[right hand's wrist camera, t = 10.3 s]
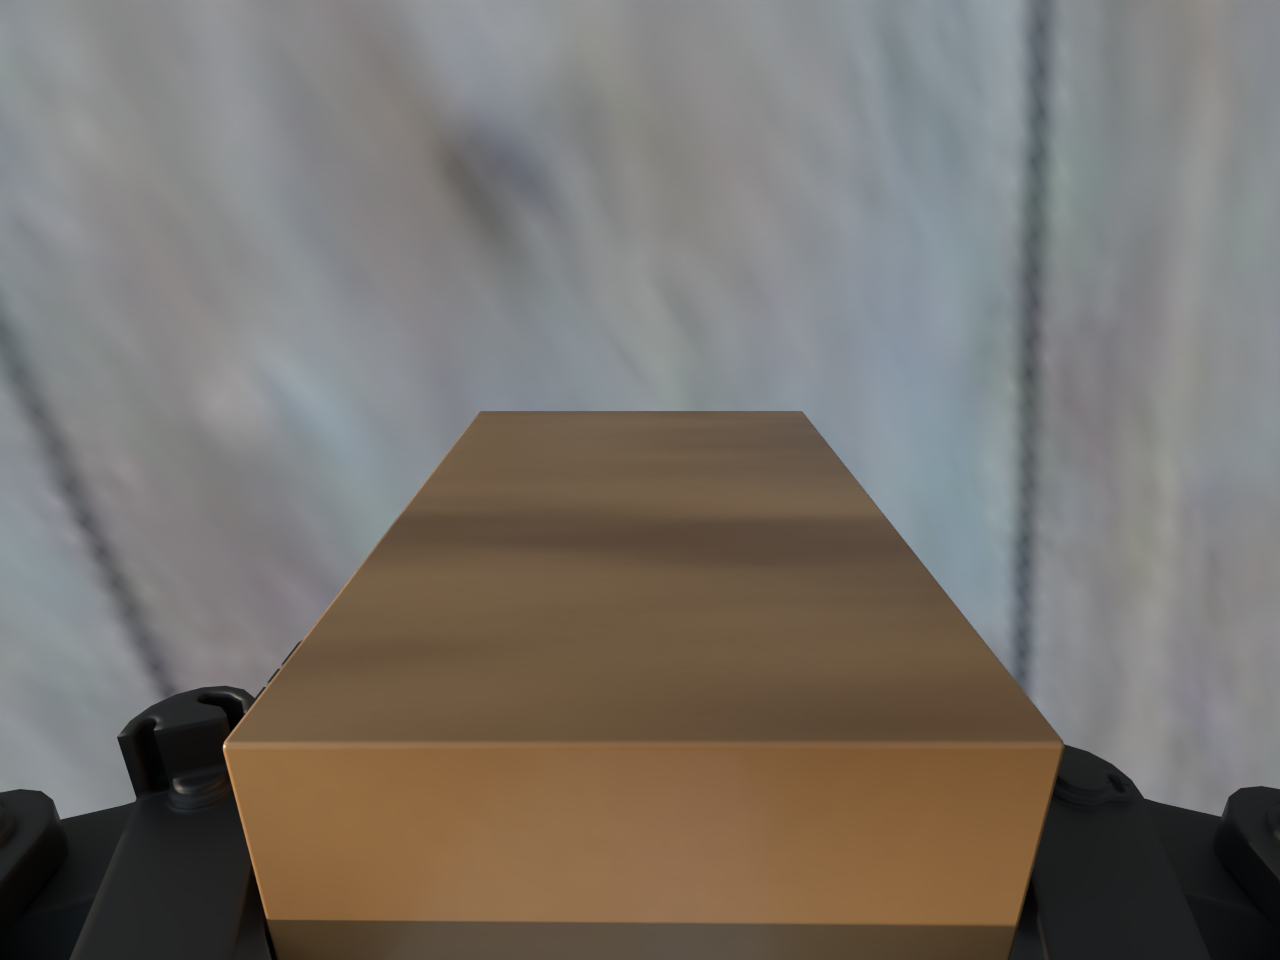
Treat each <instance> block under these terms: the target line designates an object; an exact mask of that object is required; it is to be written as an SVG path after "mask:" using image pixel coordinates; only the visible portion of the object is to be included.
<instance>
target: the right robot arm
mask: <svg viewBox="0 0 1280 960" xmlns="http://www.w3.org/2000/svg"><path fill="white" fill-rule="evenodd" d="M302 641H303V640H302ZM302 641H300V642H299V643H298V644H297V645H296V646H295V648H294V649H293V650H292V652H291V653H290V654H289V655H288V657H287V658H286V659H285V661H284V662H283V663H282V664H281V668H282V666H283V665H284V664H285V663H286V661H287V660H288V659H289V657H290V656H291V655H292V654H293V652H294V651H295V650H296V648H297V647H298V646H299V644H300V643H301V642H302ZM279 670H280V669H278V670H277V671H276V672H275V673H274V675H273V676H272V677H271V678H270V680H269V681H268V682H267V686H268V685H269V683H270V682H271V681H272V679H273V678H274V677H275V675H276V674H277V673H278V672H279ZM265 688H266V687H263V689H262V690H261V691H260V693H259V694H258V695H257V696H256V698H254V697H253V696H251V695H250V694H249V693H248V692H246V691H245V690H244V689H239V688H234V687H229V686H217V687H203V688H199V689H195V690H191V691H188V692H184V693H180V694H176V695H174V696H172V697H170V698H168V699H165V700H163V701H161V702H159V703H157V704H155V705H152V706H151V707H149V708H148V709H146V710H145V711H144V712H142V713H141V714H139V715H138V716H137V717H135V718H134V719H132V720H131V721H130V722H129V723H128V724H127V726H126V727H125V728H124V729H123V731H122V732H121V733H120V734H119V736H118V737H117V738H118V741H119V745H120V748H121V751H122V754H123V757H124V760H125V763H126V766H127V770H128V773H129V776H130V779H131V782H132V785H133V788H134V791H135V795H136V798H137V799H136V801H135V802H133V803H130V804H126V805H123V806H119V807H114V808H110V809H105V810H101V811H97V812H92V813H88V814H83V815H79V816H75V817H70V818H66V819H62V820H60V818H59V815H58V812H57V810H56V807H55V804H54V802H53V800H52V799H51V798H50V797H48V796H47V795H46V794H44V793H43V792H42V791H34V790H24V789H18V790H13V791H7V792H1V793H0V960H277V958H276V954H275V950H274V946H273V942H272V938H271V935H270V931H269V927H268V923H267V919H266V915H265V911H264V907H263V903H262V900H261V896H260V892H259V888H258V884H257V880H256V876H255V872H254V869H253V865H252V861H251V857H250V853H249V849H248V845H247V841H246V837H245V834H244V830H243V826H242V822H241V818H240V814H239V810H238V806H237V802H236V799H235V795H234V791H233V787H232V783H231V779H230V775H229V771H228V767H227V764H226V760H225V756H224V752H223V745H224V741H225V740H226V739H227V738H228V736H229V735H230V734H231V732H232V731H233V730H234V729H235V727H236V726H237V725H238V723H239V722H240V721H241V719H242V718H243V717H244V716H245V714H246V713H247V712H248V710H249V709H250V708H251V707H252V705H253V704H254V703H255V701H256V700H257V699H258V697H259V696H260V695H261V694H262V692H263V691H264V690H265ZM1064 748H1065V749H1064V753H1063V757H1062V760H1061V764H1060V768H1059V772H1058V776H1057V779H1056V783H1055V787H1054V791H1053V795H1052V799H1051V802H1050V806H1049V810H1048V814H1047V818H1046V821H1045V825H1044V829H1043V833H1042V837H1041V841H1040V844H1039V848H1038V852H1037V856H1036V860H1035V863H1034V867H1033V871H1032V875H1031V879H1030V882H1029V886H1028V890H1027V894H1026V898H1025V902H1024V905H1023V909H1022V913H1021V917H1020V921H1019V924H1018V928H1017V932H1016V936H1015V940H1014V944H1013V947H1012V951H1011V955H1010V959H1009V960H1280V789H1275V788H1269V787H1264V786H1258V787H1248V788H1240V789H1239V790H1238V791H1236V792H1235V793H1234V794H1232V795H1231V796H1229V798H1228V801H1227V803H1226V806H1225V809H1224V811H1223V814H1222V817H1219V816H1215V815H1211V814H1206V813H1202V812H1197V811H1193V810H1189V809H1184V808H1180V807H1175V806H1171V805H1166V804H1162V803H1158V802H1155V801H1151V800H1148V799H1144V797H1143V796H1142V795H1141V793H1140V792H1139V790H1138V789H1137V787H1136V786H1135V784H1134V783H1133V781H1132V780H1131V779H1130V778H1128V777H1127V776H1126V775H1125V774H1123V773H1122V772H1121V771H1120V770H1119V769H1117V768H1116V767H1115V766H1114V765H1112V764H1111V763H1109V762H1107V761H1105V760H1103V759H1101V758H1099V757H1097V756H1095V755H1094V754H1092V753H1090V752H1088V751H1084V750H1081V749H1078V748H1074V747H1071V746H1068V745H1065V744H1064Z"/></svg>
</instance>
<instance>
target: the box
mask: <svg viewBox="0 0 1280 960" xmlns="http://www.w3.org/2000/svg"><path fill="white" fill-rule="evenodd" d="M1064 749H1065V748H1064V743H1063V740H1062V739H1061V738H1060V737H1059V735H1058V734H1057V733H1056V732H1055V730H1054V729H1053V728H1052V726H1051V725H1050V724H1049V723H1048V721H1047V720H1046V719H1045V718H1044V716H1043V715H1042V714H1041V713H1040V711H1039V710H1038V709H1037V708H1036V706H1035V705H1034V704H1033V702H1032V701H1031V700H1030V699H1029V697H1028V696H1027V695H1026V694H1025V692H1024V691H1023V690H1022V689H1021V687H1020V686H1019V685H1018V684H1017V682H1016V681H1015V680H1014V678H1013V677H1012V676H1011V675H1010V673H1009V672H1008V671H1007V670H1006V668H1005V667H1004V666H1003V665H1002V663H1001V662H1000V661H999V659H998V658H997V657H996V656H995V654H994V653H993V652H992V651H991V649H990V648H989V647H988V646H987V644H986V643H985V642H984V641H983V639H982V638H981V637H980V635H979V634H978V633H977V632H976V630H975V629H974V628H973V627H972V625H971V624H970V623H969V622H968V620H967V619H966V618H965V617H964V615H963V614H962V613H961V611H960V610H959V609H958V608H957V606H956V605H955V604H954V603H953V601H952V600H951V599H950V598H949V596H948V595H947V594H946V592H945V591H944V590H943V589H942V587H941V586H940V585H939V584H938V582H937V581H936V580H935V579H934V577H933V576H932V575H931V574H930V572H929V571H928V570H927V568H926V567H925V566H924V565H923V563H922V562H921V561H920V560H919V558H918V557H917V556H916V555H915V553H914V552H913V551H912V549H911V548H910V547H909V546H908V544H907V543H906V542H905V541H904V539H903V538H902V537H901V536H900V534H899V533H898V532H897V531H896V529H895V528H894V527H893V525H892V524H891V523H890V522H889V520H888V519H887V518H886V517H885V515H884V514H883V513H882V512H881V510H880V509H879V508H878V507H877V505H876V504H875V503H874V501H873V500H872V499H871V498H870V496H869V495H868V494H867V493H866V491H865V490H864V489H863V488H862V486H861V485H860V484H859V482H858V481H857V480H856V479H855V477H854V476H853V475H852V474H851V472H850V471H849V470H848V469H847V467H846V466H845V465H844V464H843V462H842V461H841V460H840V458H839V457H838V456H837V455H836V453H835V452H834V451H833V450H832V448H831V447H830V446H829V445H828V443H827V442H826V441H825V440H824V438H823V437H822V436H821V434H820V433H819V432H818V431H817V429H816V428H815V427H814V426H813V424H812V423H811V422H810V421H809V419H808V418H807V417H806V415H805V414H804V413H803V412H801V411H481V412H479V413H478V414H477V415H476V417H475V418H474V419H473V421H472V422H471V423H470V425H469V426H468V427H467V428H466V430H465V431H464V432H463V434H462V435H461V436H460V437H459V439H458V440H457V441H456V443H455V444H454V445H453V447H452V448H451V449H450V450H449V452H448V453H447V454H446V456H445V457H444V458H443V459H442V461H441V462H440V463H439V465H438V466H437V467H436V469H435V470H434V471H433V472H432V474H431V475H430V476H429V478H428V479H427V480H426V481H425V483H424V484H423V485H422V487H421V488H420V489H419V491H418V492H417V493H416V494H415V496H414V497H413V498H412V500H411V501H410V502H409V503H408V505H407V506H406V507H405V509H404V510H403V511H402V513H401V514H400V515H399V516H398V518H397V519H396V520H395V522H394V523H393V524H392V525H391V527H390V528H389V529H388V531H387V532H386V533H385V534H384V536H383V537H382V538H381V540H380V541H379V542H378V544H377V545H376V546H375V547H374V549H373V550H372V551H371V553H370V554H369V555H368V556H367V558H366V559H365V560H364V562H363V563H362V564H361V566H360V567H359V568H358V569H357V571H356V572H355V573H354V575H353V576H352V577H351V578H350V580H349V581H348V582H347V584H346V585H345V586H344V588H343V589H342V590H341V591H340V593H339V594H338V595H337V597H336V598H335V599H334V600H333V602H332V603H331V604H330V606H329V607H328V608H327V610H326V611H325V612H324V613H323V615H322V616H321V617H320V619H319V620H318V621H317V622H316V624H315V625H314V626H313V628H312V629H311V630H310V632H309V633H308V634H307V635H306V637H305V638H304V639H303V641H302V642H301V643H300V644H299V646H298V647H297V648H296V650H295V651H294V652H293V654H292V655H291V656H290V657H289V659H288V660H287V661H286V663H285V664H284V665H283V666H282V668H281V669H280V670H279V672H278V673H277V674H276V675H275V677H274V678H273V679H272V681H271V682H270V683H269V685H268V686H267V687H266V688H265V690H264V691H263V692H262V694H261V695H260V696H259V697H258V699H257V700H256V701H255V703H254V704H253V705H252V707H251V708H250V709H249V710H248V712H247V713H246V714H245V716H244V717H243V718H242V719H241V721H240V722H239V723H238V725H237V726H236V727H235V729H234V730H233V731H232V732H231V734H230V735H229V736H228V738H227V739H226V740H225V741H224V745H223V752H224V756H225V760H226V764H227V767H228V771H229V775H230V779H231V783H232V787H233V791H234V795H235V799H236V802H237V806H238V810H239V814H240V818H241V822H242V826H243V830H244V834H245V837H246V841H247V845H248V849H249V853H250V857H251V861H252V865H253V869H254V872H255V876H256V880H257V884H258V888H259V892H260V896H261V900H262V903H263V907H264V911H265V915H266V919H267V923H268V927H269V931H270V935H271V938H272V942H273V946H274V950H275V954H276V958H277V960H1009V959H1010V955H1011V951H1012V947H1013V944H1014V940H1015V936H1016V932H1017V928H1018V924H1019V921H1020V917H1021V913H1022V909H1023V905H1024V902H1025V898H1026V894H1027V890H1028V886H1029V882H1030V879H1031V875H1032V871H1033V867H1034V863H1035V860H1036V856H1037V852H1038V848H1039V844H1040V841H1041V837H1042V833H1043V829H1044V825H1045V821H1046V818H1047V814H1048V810H1049V806H1050V802H1051V799H1052V795H1053V791H1054V787H1055V783H1056V779H1057V776H1058V772H1059V768H1060V764H1061V760H1062V757H1063V753H1064Z"/></svg>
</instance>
